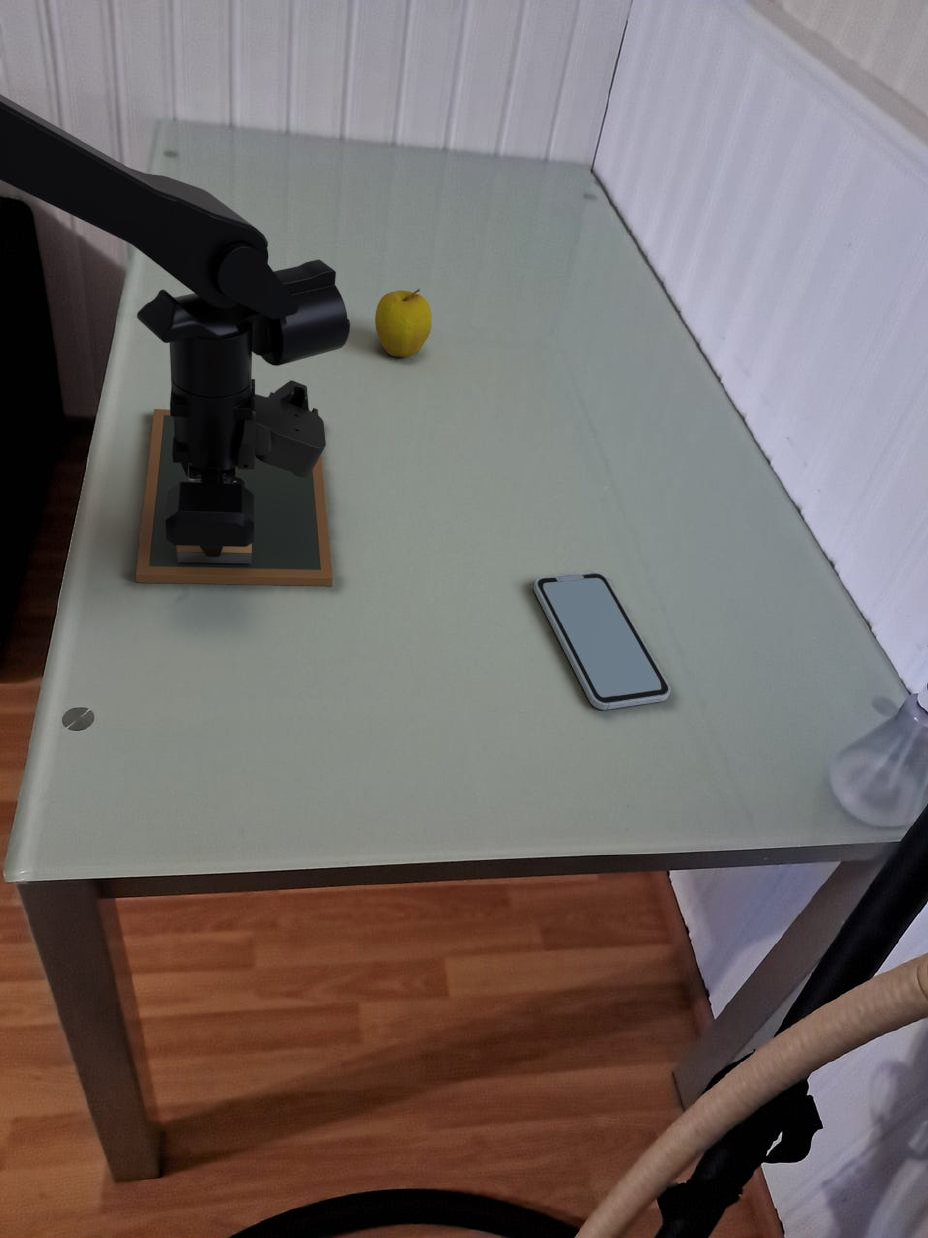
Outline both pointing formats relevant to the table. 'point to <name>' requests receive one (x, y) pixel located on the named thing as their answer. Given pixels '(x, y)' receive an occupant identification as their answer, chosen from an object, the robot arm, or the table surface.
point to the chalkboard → (282, 524)
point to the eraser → (227, 556)
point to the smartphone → (601, 641)
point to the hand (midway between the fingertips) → (213, 538)
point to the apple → (403, 322)
